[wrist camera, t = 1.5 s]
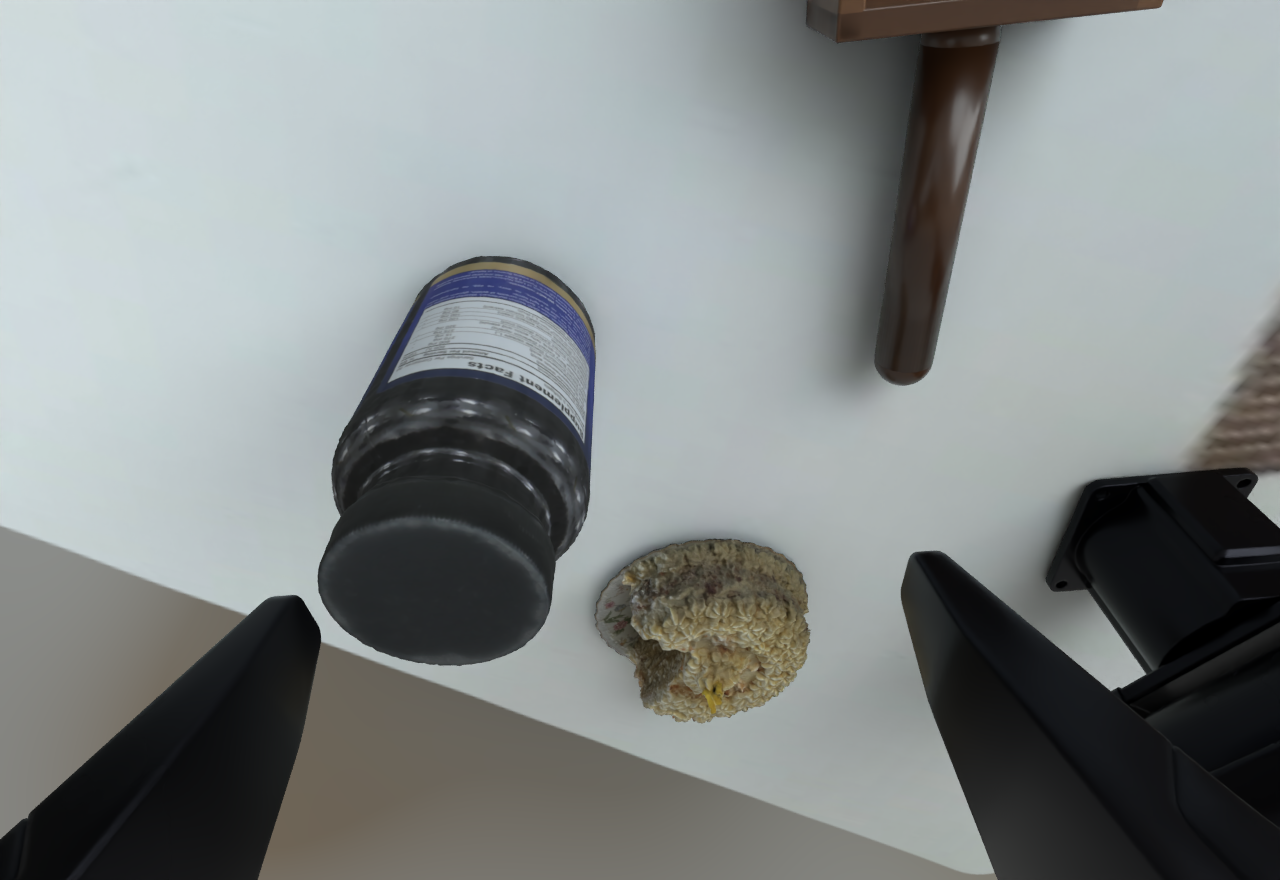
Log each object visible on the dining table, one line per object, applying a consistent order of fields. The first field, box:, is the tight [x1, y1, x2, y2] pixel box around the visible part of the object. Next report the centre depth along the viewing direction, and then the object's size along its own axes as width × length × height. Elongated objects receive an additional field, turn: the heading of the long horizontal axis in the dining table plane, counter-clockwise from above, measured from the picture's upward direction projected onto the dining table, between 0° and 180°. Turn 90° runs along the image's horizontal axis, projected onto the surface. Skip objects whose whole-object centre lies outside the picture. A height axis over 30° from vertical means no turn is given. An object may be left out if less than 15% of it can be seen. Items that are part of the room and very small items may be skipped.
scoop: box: [806, 0, 1163, 386], centre depth 16 cm, size 18×7×3 cm, turn 5°
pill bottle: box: [318, 256, 596, 666], centre depth 18 cm, size 6×6×11 cm
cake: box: [594, 539, 811, 723], centre depth 29 cm, size 10×10×5 cm
